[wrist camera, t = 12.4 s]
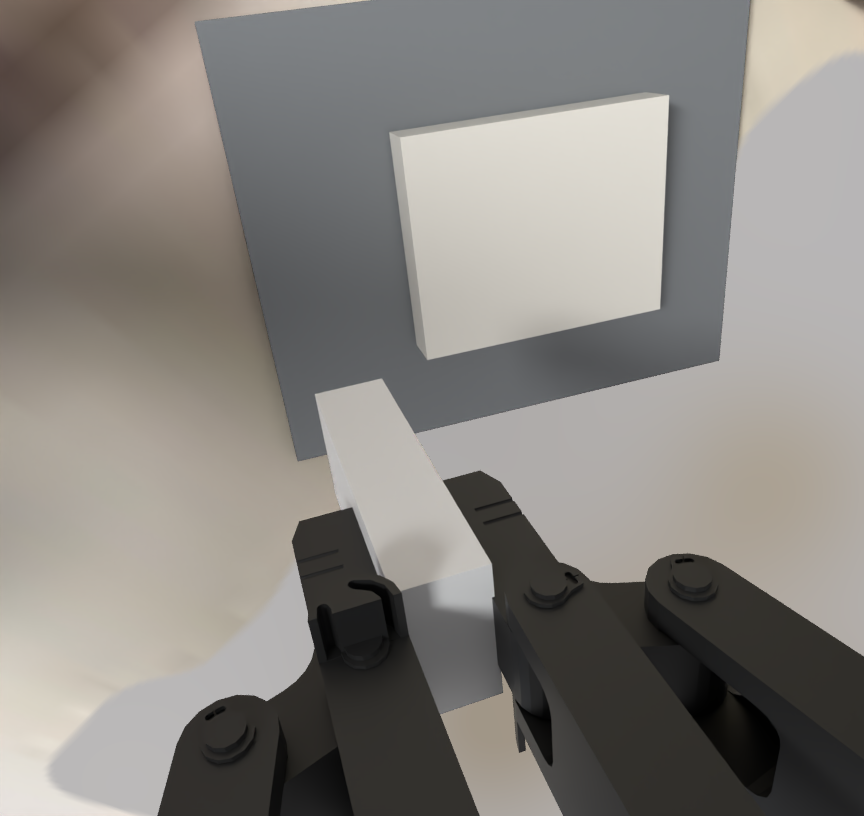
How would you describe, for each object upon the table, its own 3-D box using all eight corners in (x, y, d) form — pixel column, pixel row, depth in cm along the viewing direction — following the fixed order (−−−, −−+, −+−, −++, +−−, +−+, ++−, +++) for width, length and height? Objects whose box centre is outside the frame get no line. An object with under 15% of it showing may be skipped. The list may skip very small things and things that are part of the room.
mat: (296, 455, 34) (297, 461, 34) (194, 21, 26) (194, 21, 25) (712, 356, 38) (719, 360, 38) (744, -45, 30) (754, -47, 29)
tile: (427, 360, 31) (660, 309, 33) (400, 137, 27) (669, 94, 29) (415, 343, 33) (637, 295, 35) (388, 131, 28) (643, 92, 30)
